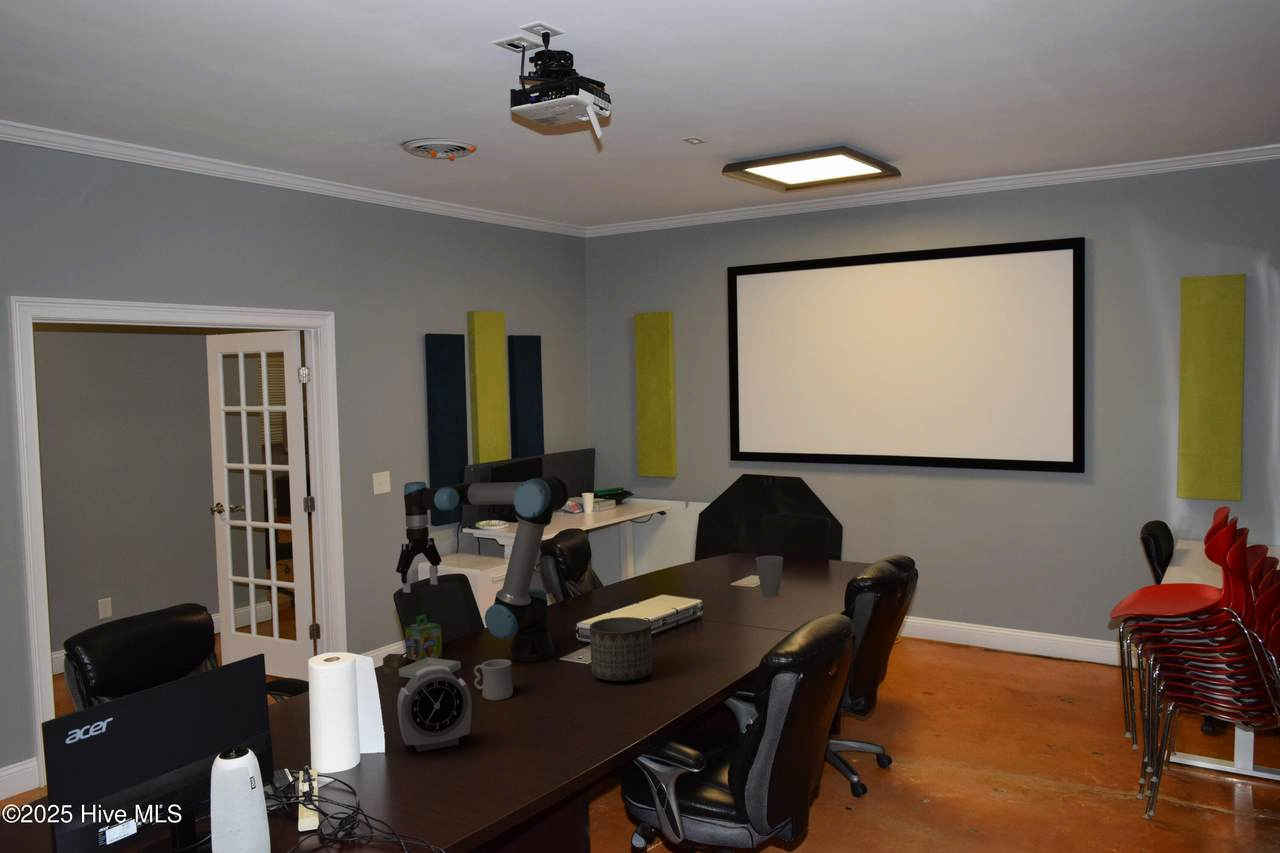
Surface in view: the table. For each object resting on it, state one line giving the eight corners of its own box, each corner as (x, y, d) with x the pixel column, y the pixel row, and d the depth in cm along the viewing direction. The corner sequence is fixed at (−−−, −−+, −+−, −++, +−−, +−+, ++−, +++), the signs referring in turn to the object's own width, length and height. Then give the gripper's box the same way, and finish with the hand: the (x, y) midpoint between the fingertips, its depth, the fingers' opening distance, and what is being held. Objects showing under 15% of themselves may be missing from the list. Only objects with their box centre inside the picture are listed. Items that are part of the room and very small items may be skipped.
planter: (662, 670, 294) (660, 619, 294) (637, 688, 277) (635, 634, 276) (608, 664, 303) (607, 615, 302) (580, 682, 285) (578, 629, 284)
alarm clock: (403, 757, 231) (400, 677, 230) (398, 745, 238) (394, 668, 238) (474, 743, 238) (471, 666, 237) (467, 733, 245) (463, 658, 245)
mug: (518, 692, 278) (517, 659, 277) (504, 702, 269) (503, 668, 269) (482, 689, 282) (480, 657, 281) (467, 699, 273) (465, 666, 273)
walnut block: (404, 668, 307) (403, 653, 307) (397, 673, 302) (397, 658, 302) (389, 668, 307) (389, 653, 307) (383, 673, 303) (382, 658, 302)
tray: (460, 668, 304) (460, 661, 304) (432, 681, 292) (432, 673, 292) (428, 664, 311) (427, 657, 310) (399, 676, 298) (398, 668, 298)
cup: (756, 597, 391) (754, 560, 391) (757, 591, 403) (756, 555, 402) (784, 597, 389) (783, 560, 389) (784, 591, 401) (783, 555, 400)
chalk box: (423, 663, 311) (421, 620, 311) (405, 659, 317) (403, 617, 316) (443, 656, 319) (441, 614, 318) (426, 653, 324) (424, 611, 324)
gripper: (433, 521, 329) (436, 580, 330) (382, 532, 307) (386, 595, 308) (449, 522, 326) (452, 581, 326) (399, 532, 304) (403, 596, 305)
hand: (420, 588), depth 317 cm, fingers open, 13 cm apart
